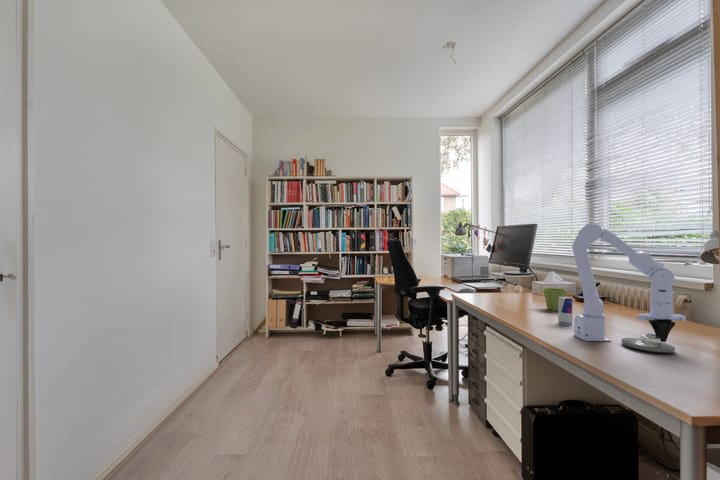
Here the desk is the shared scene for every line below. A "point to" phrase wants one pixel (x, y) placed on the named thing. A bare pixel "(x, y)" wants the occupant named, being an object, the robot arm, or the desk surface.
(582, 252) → the robot arm
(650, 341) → the cover
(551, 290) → the plant pot
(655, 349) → the turntable
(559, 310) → the energy drink
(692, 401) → the desk surface
